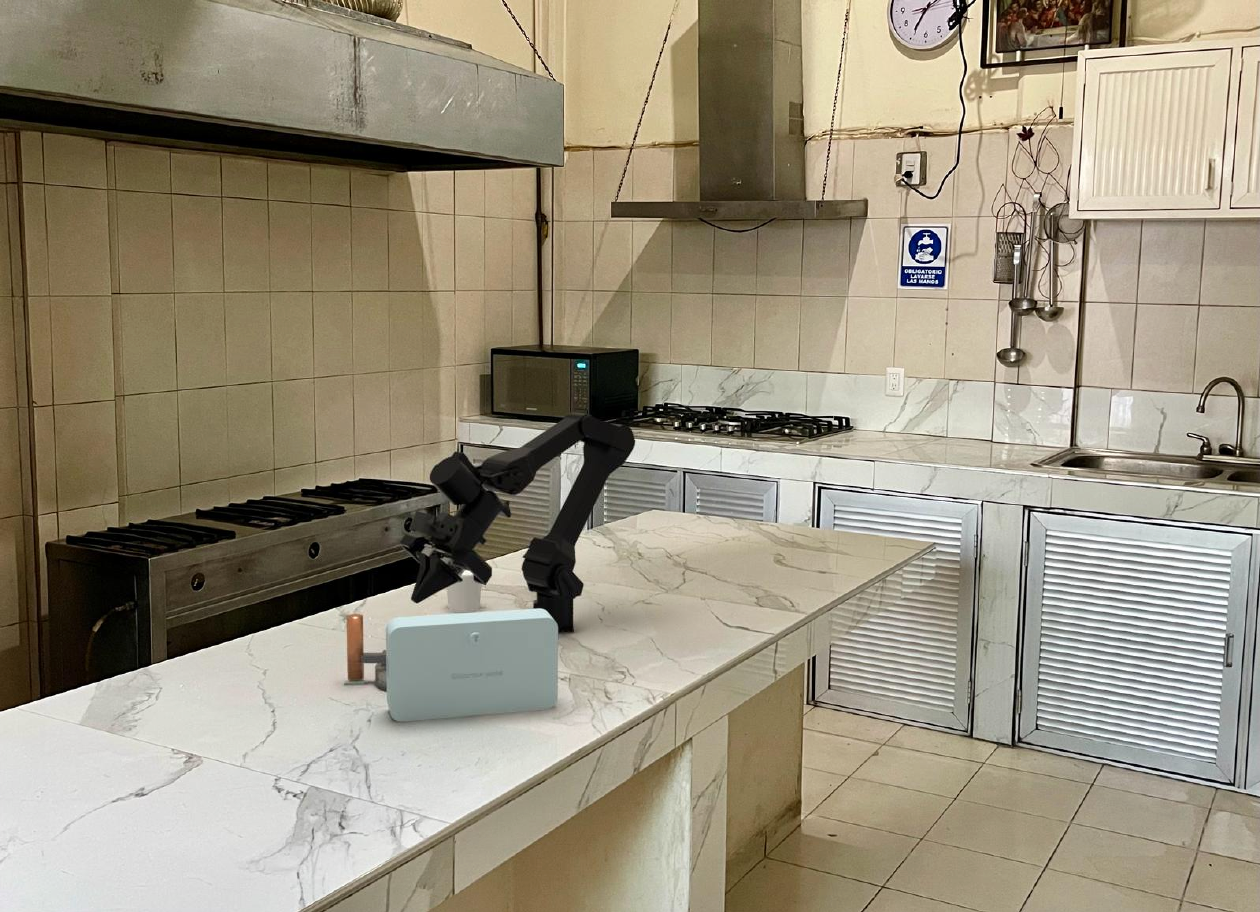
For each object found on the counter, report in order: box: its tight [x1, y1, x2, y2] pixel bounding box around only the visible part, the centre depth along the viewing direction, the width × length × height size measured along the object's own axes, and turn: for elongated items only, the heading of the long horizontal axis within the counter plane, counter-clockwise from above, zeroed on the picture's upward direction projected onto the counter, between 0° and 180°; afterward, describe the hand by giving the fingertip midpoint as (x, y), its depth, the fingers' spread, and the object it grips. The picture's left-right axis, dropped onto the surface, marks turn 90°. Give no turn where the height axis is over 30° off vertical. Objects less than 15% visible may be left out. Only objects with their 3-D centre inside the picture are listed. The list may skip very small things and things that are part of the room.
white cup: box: [446, 570, 483, 614], centre depth 222 cm, size 7×7×7 cm
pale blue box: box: [385, 608, 559, 722], centre depth 169 cm, size 23×6×13 cm, turn 106°
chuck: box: [374, 663, 387, 692], centre depth 180 cm, size 10×10×7 cm
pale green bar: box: [343, 679, 366, 686], centre depth 180 cm, size 3×1×1 cm, turn 98°
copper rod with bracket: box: [345, 613, 386, 681], centre depth 180 cm, size 7×2×10 cm, turn 90°
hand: (413, 601), depth 188 cm, fingers closed
